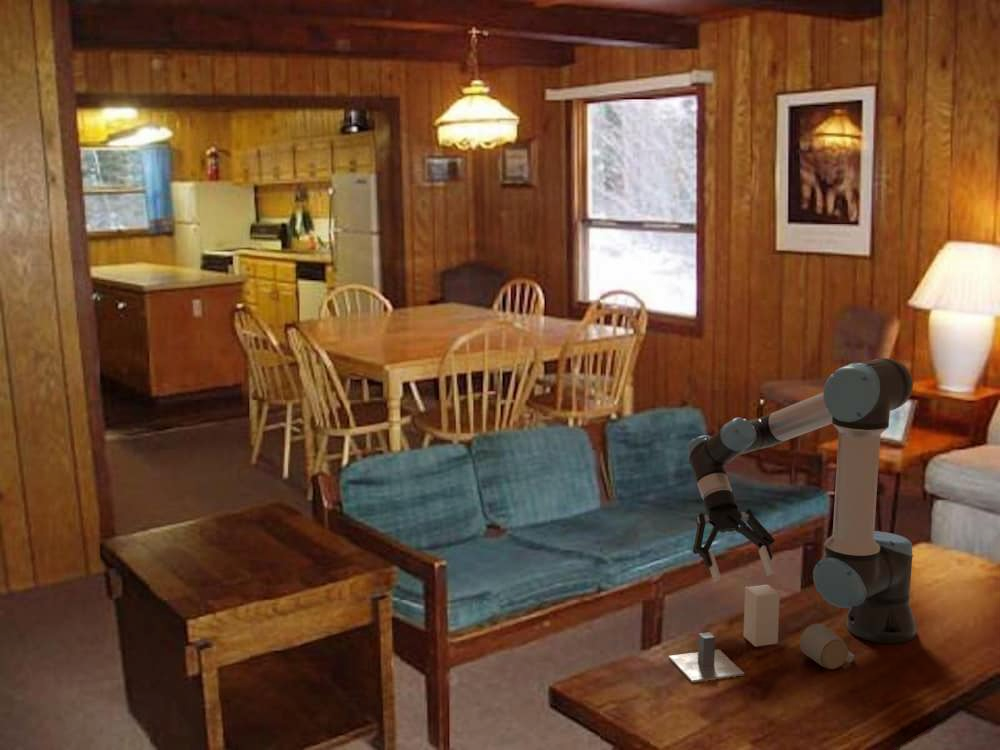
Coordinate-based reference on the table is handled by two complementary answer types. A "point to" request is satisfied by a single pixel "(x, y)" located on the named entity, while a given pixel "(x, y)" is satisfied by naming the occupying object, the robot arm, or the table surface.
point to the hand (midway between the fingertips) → (744, 576)
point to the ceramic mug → (824, 647)
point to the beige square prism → (761, 615)
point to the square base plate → (706, 662)
